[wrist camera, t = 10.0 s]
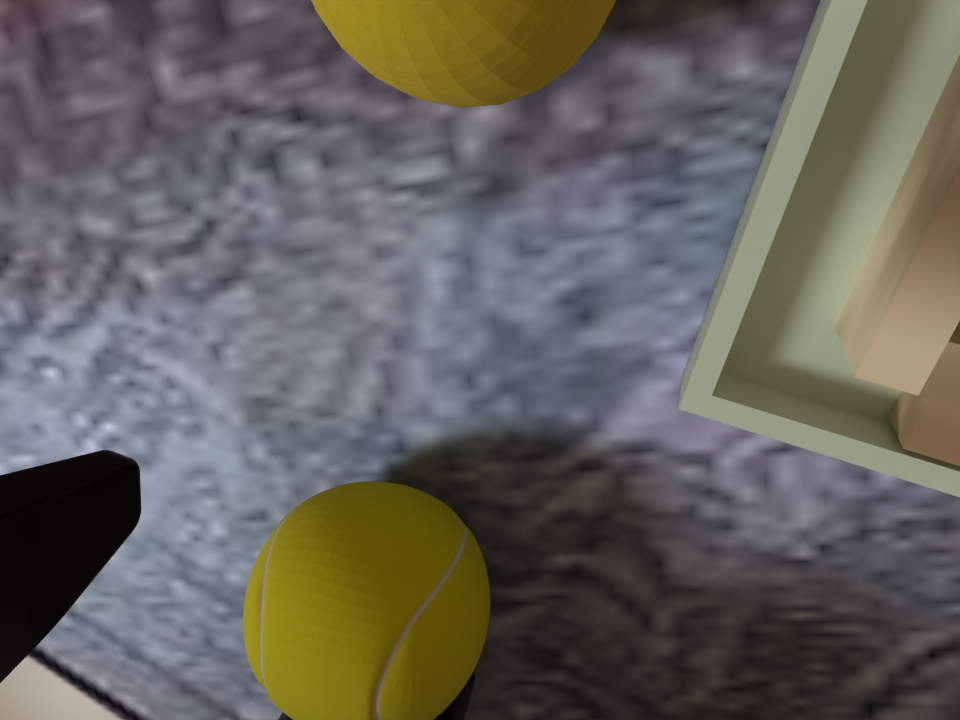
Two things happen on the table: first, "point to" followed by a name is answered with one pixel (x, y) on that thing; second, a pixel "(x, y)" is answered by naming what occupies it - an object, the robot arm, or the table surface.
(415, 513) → the tennis ball
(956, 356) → the wooden rectangular frame
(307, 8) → the table surface
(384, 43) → the lemon
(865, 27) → the tray
